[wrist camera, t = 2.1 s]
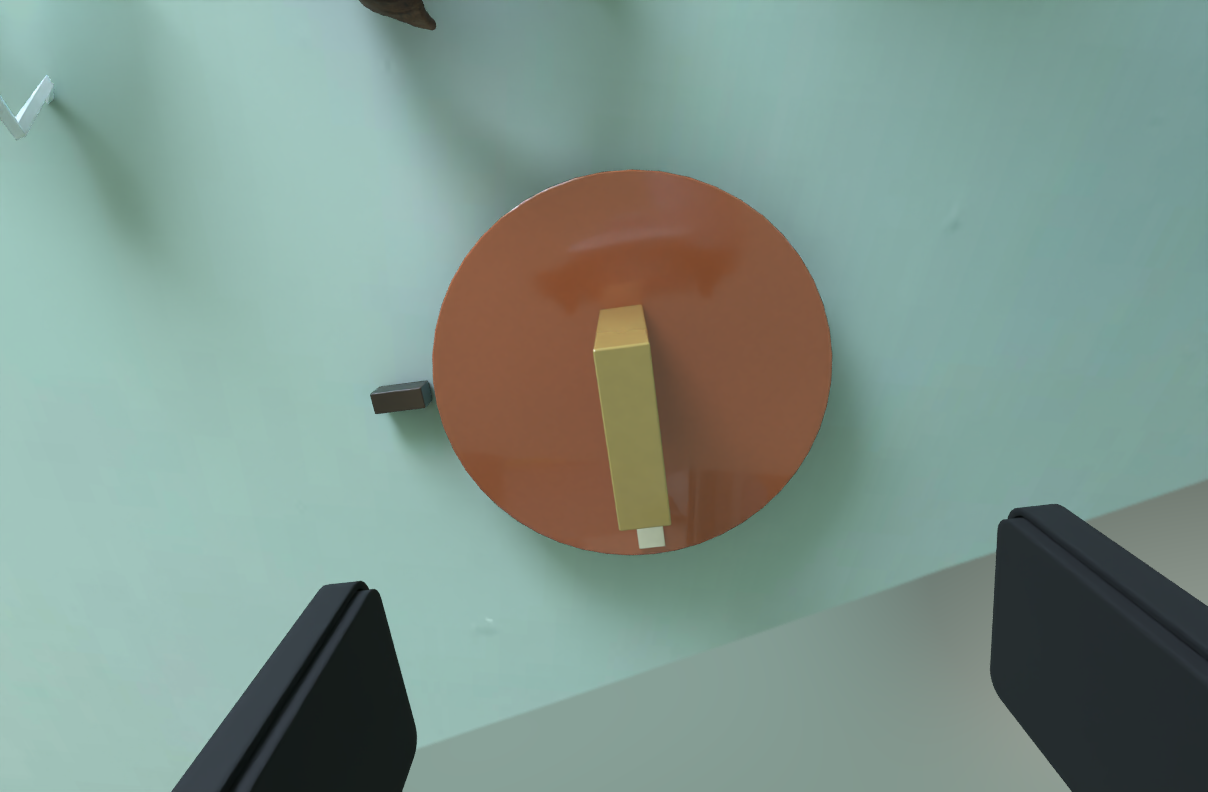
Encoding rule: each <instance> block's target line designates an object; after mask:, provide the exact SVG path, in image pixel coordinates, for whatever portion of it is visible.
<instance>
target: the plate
mask: <svg viewBox="0 0 1208 792" xmlns="http://www.w3.org/2000/svg"><path fill="white" fill-rule="evenodd" d="M432 362H433V384H434V390H435V396H436V403H437V407H438V410H439V414H440V417H441V420H442V424H443V427H444V430H445V432H446V434H447V436H448V439H449V441H450V443H451V445H452V448H453V450H454V452H455V453H456V455H457V457H458V458H459V460H460V461H461V463H462V465H463V466H464V468H465V470H466V471H467V472H468V474H469V475H470V476H471V477H472V479H473V480H474V481H475V482H476V484H477V485H478V486H479V487H480V489H481V490H482V491H483V492H484V493H485V494H486V495H487V496H488V497H489V498H490V499H491V500H492V501H493V502H494V503H495V504H496V505H497V506H498V507H500V508H501V509H502V510H504V511H505V512H506V513H508V514H509V515H510V516H512V517H513V518H514V519H516V520H517V521H518V522H520V523H522V524H523V525H525V526H527V527H529V528H530V529H532V530H534V531H535V532H537V533H539V534H541V535H544V536H546V537H548V538H551V539H553V540H555V541H557V542H560V543H563V544H566V545H570V546H573V547H576V548H579V549H583V550H588V551H594V552H599V553H605V554H618V555H644V554H657V553H663V552H669V551H675V550H679V549H683V548H686V547H689V546H693V545H696V544H700V543H702V542H705V541H707V540H709V539H712V538H714V537H717V536H719V535H721V534H723V533H725V532H727V531H729V530H730V529H732V528H734V527H736V526H737V525H739V524H741V523H743V522H744V521H746V520H747V519H748V518H750V517H751V516H752V515H754V514H755V513H756V512H758V511H759V510H761V509H762V508H763V507H764V506H765V505H766V504H767V503H768V502H769V501H771V500H772V499H773V498H774V497H775V496H776V495H777V494H778V493H779V492H780V491H781V490H782V489H783V487H784V486H785V485H786V484H787V483H788V481H789V480H790V479H791V478H792V477H793V475H794V474H795V473H796V471H797V470H798V468H799V467H800V465H801V464H802V462H803V460H804V459H805V457H806V456H807V454H808V453H809V451H810V449H811V446H812V444H813V442H814V440H815V438H816V436H817V434H818V431H819V429H820V426H821V423H822V420H823V417H824V413H825V410H826V407H827V403H828V397H829V391H830V386H831V378H832V347H831V337H830V329H829V325H828V321H827V316H826V312H825V308H824V304H823V302H822V299H821V297H820V294H819V292H818V289H817V287H816V284H815V282H814V279H813V278H812V276H811V274H810V272H809V271H808V269H807V267H806V266H805V264H804V262H803V260H802V259H801V257H800V255H799V254H798V253H797V252H796V250H795V249H794V248H793V247H792V245H791V244H790V243H789V241H788V240H787V239H786V238H785V236H784V235H783V234H782V233H781V232H780V231H779V230H778V229H777V228H776V227H775V226H773V225H772V224H771V223H770V222H769V221H768V220H767V219H766V218H765V217H764V216H763V215H762V214H760V213H759V212H757V211H756V210H755V209H753V208H752V207H750V206H749V205H748V204H746V203H745V202H743V201H742V200H741V199H739V198H737V197H735V196H733V195H731V194H729V193H727V192H725V191H723V190H721V189H719V188H718V187H716V186H713V185H710V184H707V183H704V182H702V181H699V180H696V179H693V178H690V177H686V176H682V175H677V174H672V173H667V172H662V171H649V170H633V169H631V170H618V171H605V172H599V173H595V174H590V175H586V176H581V177H577V178H573V179H571V180H568V181H565V182H562V183H560V184H557V185H554V186H552V187H549V188H547V189H545V190H543V191H541V192H539V193H538V194H536V195H534V196H532V197H530V198H528V199H526V200H524V201H523V202H522V203H520V204H519V205H517V206H516V207H515V208H513V209H512V210H511V211H509V212H508V213H506V214H505V215H504V216H502V217H501V218H500V219H499V220H498V221H497V222H496V223H495V224H494V225H493V226H492V227H491V228H490V229H489V230H488V231H487V232H485V233H484V234H483V235H482V236H481V238H480V239H479V240H478V241H477V243H476V244H475V245H474V247H473V248H472V249H471V250H470V252H469V253H468V254H467V255H466V257H465V258H464V260H463V262H462V263H461V265H460V267H459V269H458V270H457V272H456V274H455V275H454V277H453V279H452V281H451V283H450V286H449V288H448V290H447V293H446V295H445V298H444V300H443V303H442V305H441V309H440V313H439V317H438V321H437V325H436V329H435V336H434V345H433V354H432Z"/></svg>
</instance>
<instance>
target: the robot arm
mask: <svg viewBox="0 0 1208 792" xmlns="http://www.w3.org/2000/svg"><path fill="white" fill-rule="evenodd" d="M990 674H991V679H992V683H993V686H994V688H995V690H996V692H997V694H998V696H999V697H1000V699H1001V700H1002V702H1003V703H1004V704H1005V705H1006V707H1007V708H1008V709H1009V711H1010V712H1011V713H1012V715H1013V716H1014V717H1015V718H1016V720H1017V721H1018V722H1019V724H1020V725H1021V726H1022V727H1023V729H1024V730H1025V731H1026V733H1027V734H1028V735H1029V736H1030V738H1031V739H1032V740H1033V742H1034V743H1035V744H1036V746H1037V747H1038V748H1039V750H1040V751H1041V752H1042V753H1043V754H1044V756H1045V757H1046V758H1047V760H1048V761H1049V763H1050V764H1051V765H1052V766H1053V768H1054V769H1055V770H1056V772H1057V773H1058V774H1059V775H1060V777H1061V778H1062V779H1063V781H1064V782H1065V783H1066V784H1067V786H1068V787H1069V788H1070V790H1071V791H1072V792H1208V606H1206V605H1205V604H1203V603H1202V602H1201V601H1199V600H1198V599H1196V598H1195V597H1193V596H1192V595H1190V594H1189V593H1188V592H1186V591H1185V590H1183V589H1182V588H1180V587H1179V586H1178V585H1176V584H1175V583H1173V582H1172V581H1170V580H1169V579H1167V578H1166V577H1164V576H1163V575H1162V574H1160V573H1159V572H1157V571H1155V570H1154V569H1153V568H1151V567H1150V566H1149V565H1147V564H1145V563H1144V562H1143V561H1141V560H1140V559H1138V558H1137V557H1136V556H1134V555H1133V554H1131V553H1130V552H1128V551H1127V550H1125V549H1124V548H1122V547H1121V546H1120V545H1118V544H1117V543H1115V542H1114V541H1112V540H1111V539H1109V538H1108V537H1107V536H1105V535H1104V534H1102V533H1101V532H1099V531H1098V530H1096V529H1095V528H1093V527H1092V526H1090V525H1089V524H1088V523H1086V522H1085V521H1083V520H1082V519H1080V518H1079V517H1078V516H1076V515H1075V514H1073V513H1072V512H1070V511H1069V510H1067V509H1066V508H1065V507H1063V506H1061V505H1058V504H1049V505H1040V506H1031V507H1022V508H1015V509H1013V510H1012V511H1011V512H1010V514H1009V516H1008V519H1004V520H1002V521H1001V522H1000V523H999V525H998V532H997V550H996V570H995V588H994V607H993V625H992V644H991V664H990ZM416 745H417V732H416V726H415V722H414V719H413V715H412V711H411V707H410V704H409V700H408V696H407V693H406V689H405V685H404V681H403V678H402V674H401V670H400V667H399V663H398V659H397V655H396V652H395V648H394V644H393V641H392V637H391V633H390V629H389V626H388V622H387V618H386V614H385V611H384V607H383V603H382V600H381V597H380V594H379V592H378V591H377V590H375V589H370V590H369V588H368V586H367V585H366V584H365V583H364V582H362V581H356V582H347V583H338V584H329V585H324V586H323V587H322V588H321V589H320V590H319V591H318V592H317V594H316V595H315V596H314V598H313V599H312V601H311V602H310V603H309V605H308V606H307V607H306V609H305V610H304V611H303V613H302V614H301V616H300V617H299V618H298V620H297V621H296V622H295V624H294V625H293V626H292V628H291V629H290V631H289V632H288V633H287V635H286V636H285V637H284V639H283V640H282V641H281V643H280V644H279V646H278V647H277V648H276V650H275V651H274V652H273V654H272V655H271V656H270V658H269V659H268V661H267V662H266V663H265V665H264V666H263V667H262V669H261V670H260V671H259V673H258V674H257V676H256V677H255V678H254V680H253V681H252V682H251V684H250V685H249V686H248V688H247V689H246V691H245V692H244V693H243V695H242V696H241V697H240V699H239V700H238V702H237V703H236V704H235V706H234V707H233V708H232V710H231V711H230V712H229V714H228V715H227V717H226V718H225V719H224V721H223V722H222V723H221V725H220V726H219V727H218V729H217V730H216V732H215V733H214V734H213V736H212V737H211V738H210V740H209V741H208V742H207V744H206V745H205V747H204V748H203V749H202V751H201V752H200V753H199V755H198V756H197V757H196V759H195V760H194V762H193V763H192V764H191V766H190V767H189V768H188V770H187V771H186V772H185V774H184V775H183V777H182V778H181V779H180V781H179V782H178V783H177V785H176V786H175V787H174V789H173V790H172V792H402V790H403V787H404V784H405V781H406V779H407V776H408V773H409V770H410V767H411V764H412V761H413V758H414V755H415V751H416Z"/></svg>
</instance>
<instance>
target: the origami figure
mask: <svg viewBox="0 0 1208 792" xmlns="http://www.w3.org/2000/svg"><path fill="white" fill-rule="evenodd" d="M53 99H54V84H53V83H52V81H51V80H50V78H49V77H48V75H46V76H45V78H44V79H43V80H42V82H41V83H40V84H39V86H38V87H37V88H36V90H35V91H34V92H33V94H32V95H31V96H30V98H29V99H28V101H27V102H26V103H25V105H24V106H23V107H22V109H21V110H20V111H19V113H18V114H17V115H16V117H15V116H14V115H13V113H12V112H11V110H10V109H9V107H8V106H7V104H6V103H5V101H4V99H3V98H2V96H1V95H0V119H1V121H2V122H3V123H4V125H5V126H6V127H7V129H8V130H9V131H10V133H11V134H12V135H13V137H14V138H15V139H16V140H18V139H20V138H23V137H25V136H26V135H27V134H28V132H29V130H30V128H31V126H32V124H33V122H34V121H35V119H36V117H37V115H38V113H39V111H40V110H41V108H42V106H43V104H44V102H45V101H46V102H47V104H48V103H50V102H51V101H52V100H53Z"/></svg>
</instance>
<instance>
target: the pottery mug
mask: <svg viewBox="0 0 1208 792" xmlns="http://www.w3.org/2000/svg"><path fill="white" fill-rule="evenodd" d="M359 1H360V2H361V3H362V4H363V5H364V6H365V7H367V8H369V9H370V10H372V11H373V12H376V13H379V14H381V15H383V16H388V17H391V18H393V19H396V20H399V21H401V22H404V23H407V24H410V25H412V26H415V27H419V28H423V29H428V30H435V28H436V23H435V21H434V19H433V18H432V17H431V16H430V15H429V14H428V12H427V11H426V9H425V7H424V4H423V1H422V0H359Z"/></svg>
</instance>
